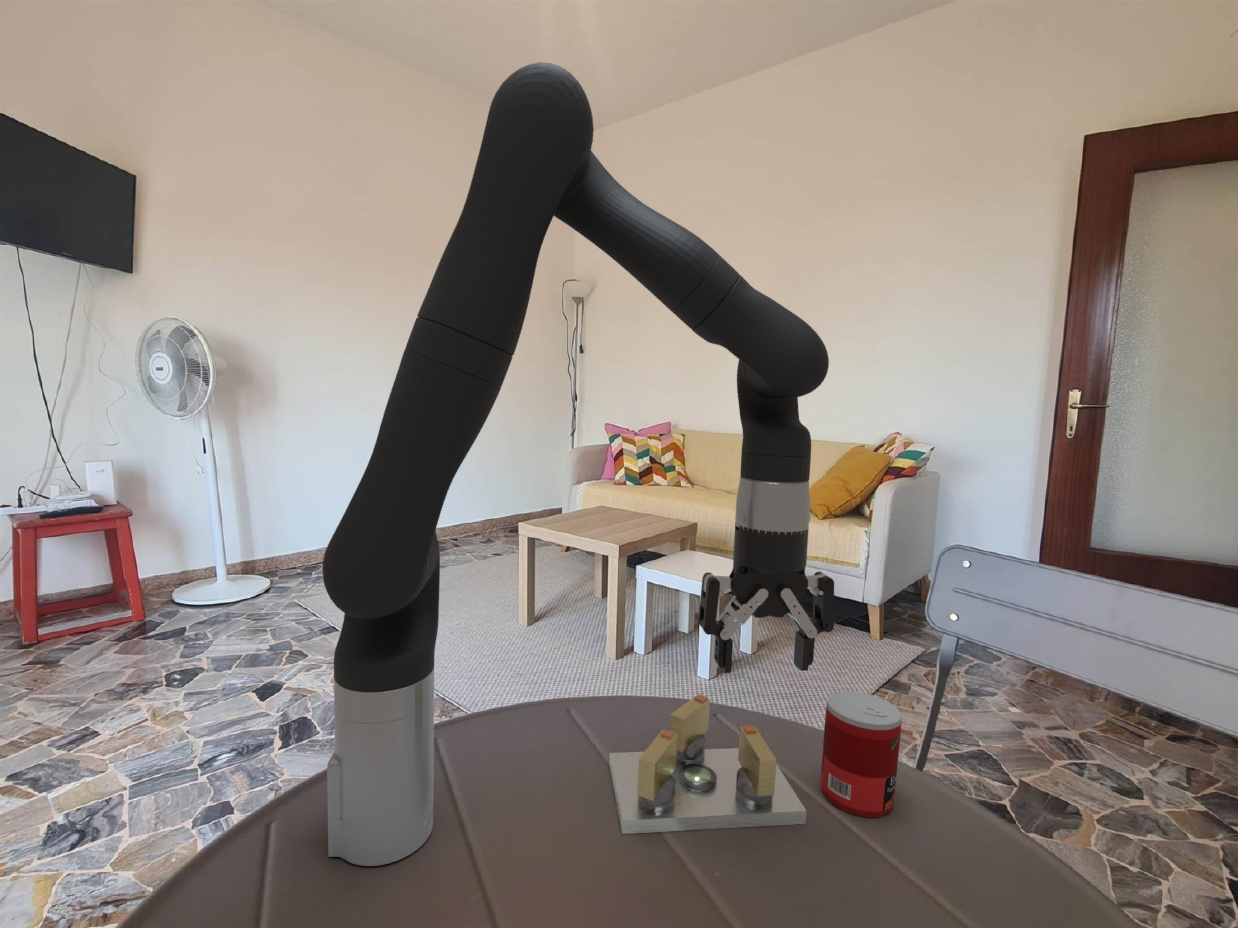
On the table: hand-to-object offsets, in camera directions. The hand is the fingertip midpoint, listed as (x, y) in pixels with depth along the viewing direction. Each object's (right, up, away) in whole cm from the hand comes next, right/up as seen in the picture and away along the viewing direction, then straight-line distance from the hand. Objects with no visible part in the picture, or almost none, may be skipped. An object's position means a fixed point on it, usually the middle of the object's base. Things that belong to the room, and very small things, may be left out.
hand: (762, 668), depth 65 cm
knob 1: (-12, -15, 0) cm, 18 cm away
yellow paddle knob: (-7, -14, +9) cm, 18 cm away
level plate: (-6, -16, +5) cm, 18 cm away
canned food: (+12, -17, +5) cm, 21 cm away
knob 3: (-1, -15, +2) cm, 15 cm away
